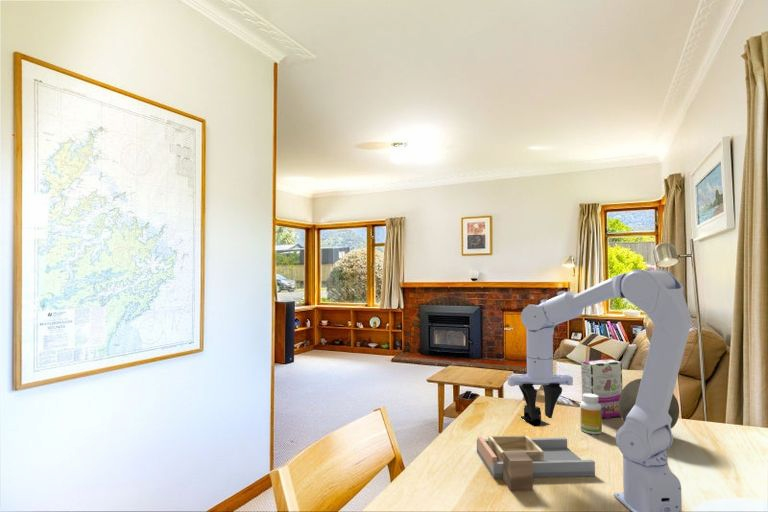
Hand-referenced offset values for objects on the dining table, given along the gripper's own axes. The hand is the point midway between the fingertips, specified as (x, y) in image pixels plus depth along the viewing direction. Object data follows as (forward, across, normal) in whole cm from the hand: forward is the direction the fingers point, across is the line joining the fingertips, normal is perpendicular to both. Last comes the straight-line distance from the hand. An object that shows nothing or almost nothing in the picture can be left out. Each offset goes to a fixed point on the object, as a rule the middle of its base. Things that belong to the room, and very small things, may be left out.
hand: (540, 416), depth 101 cm
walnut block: (+10, +9, +10) cm, 17 cm away
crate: (+9, +6, 0) cm, 11 cm away
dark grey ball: (+11, -35, -14) cm, 39 cm away
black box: (+11, -9, -28) cm, 32 cm away
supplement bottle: (+11, -22, -19) cm, 31 cm away
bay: (+10, +2, 0) cm, 11 cm away
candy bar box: (+11, -32, -31) cm, 46 cm away
